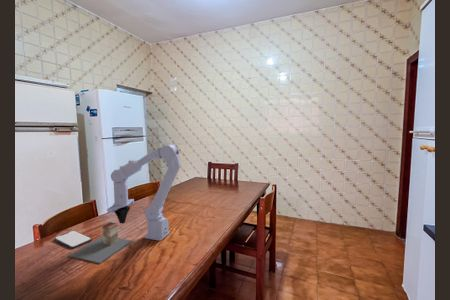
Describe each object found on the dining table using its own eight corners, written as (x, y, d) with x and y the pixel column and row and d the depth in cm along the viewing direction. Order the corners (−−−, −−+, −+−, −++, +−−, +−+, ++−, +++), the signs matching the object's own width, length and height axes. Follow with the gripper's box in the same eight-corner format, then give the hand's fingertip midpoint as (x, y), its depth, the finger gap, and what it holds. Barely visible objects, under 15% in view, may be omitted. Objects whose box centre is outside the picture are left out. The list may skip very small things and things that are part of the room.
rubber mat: (132, 241, 97) (132, 240, 97) (100, 263, 81) (100, 262, 81) (104, 236, 102) (104, 235, 102) (68, 256, 86) (68, 255, 86)
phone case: (93, 241, 98) (74, 233, 106) (93, 238, 98) (74, 229, 106) (72, 251, 91) (52, 241, 98) (71, 247, 90) (52, 237, 98)
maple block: (118, 240, 97) (117, 223, 96) (110, 245, 93) (109, 227, 92) (110, 239, 98) (109, 222, 97) (103, 243, 94) (102, 226, 94)
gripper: (125, 189, 109) (126, 215, 110) (101, 198, 95) (102, 228, 96) (137, 190, 107) (138, 217, 108) (114, 199, 93) (115, 230, 94)
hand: (122, 222), depth 102 cm, fingers closed
